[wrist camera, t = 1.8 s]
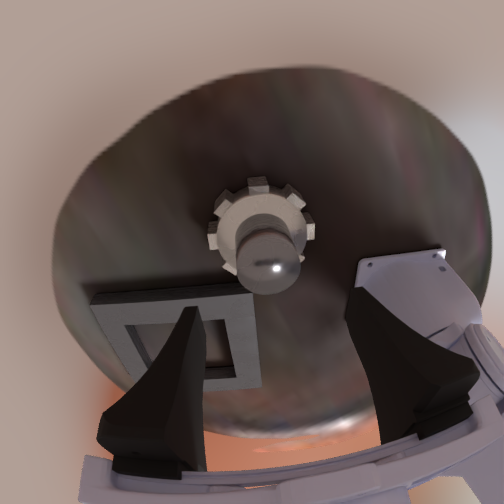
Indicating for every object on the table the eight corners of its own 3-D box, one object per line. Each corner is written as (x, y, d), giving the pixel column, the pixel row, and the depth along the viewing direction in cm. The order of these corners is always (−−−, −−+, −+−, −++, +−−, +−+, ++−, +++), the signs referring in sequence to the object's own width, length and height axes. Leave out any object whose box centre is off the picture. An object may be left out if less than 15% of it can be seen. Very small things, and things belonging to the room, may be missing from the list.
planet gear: (308, 173, 19) (334, 206, 15) (307, 260, 23) (325, 307, 19) (202, 182, 19) (194, 219, 15) (216, 269, 23) (215, 320, 18)
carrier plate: (251, 280, 24) (252, 293, 23) (260, 376, 31) (261, 387, 30) (94, 294, 24) (89, 305, 22) (143, 381, 31) (141, 391, 30)
